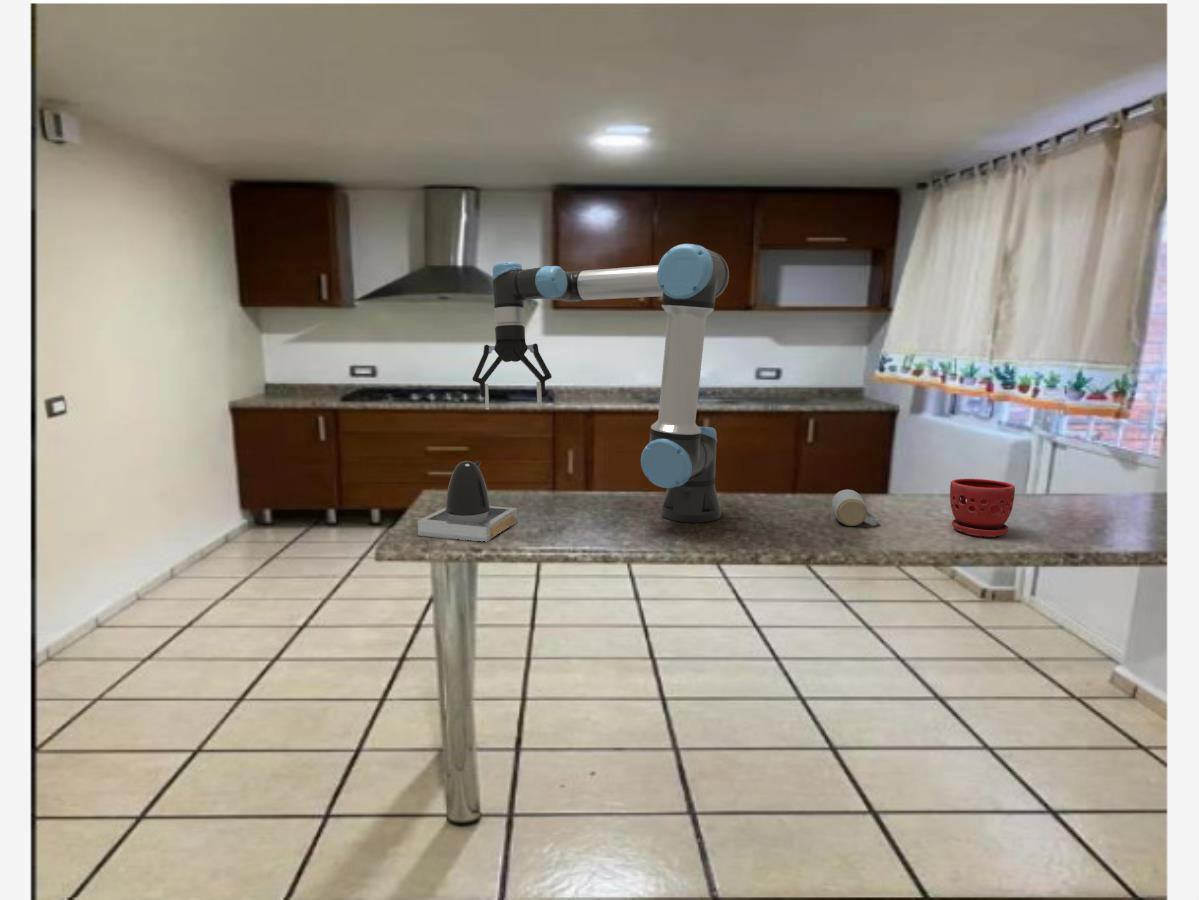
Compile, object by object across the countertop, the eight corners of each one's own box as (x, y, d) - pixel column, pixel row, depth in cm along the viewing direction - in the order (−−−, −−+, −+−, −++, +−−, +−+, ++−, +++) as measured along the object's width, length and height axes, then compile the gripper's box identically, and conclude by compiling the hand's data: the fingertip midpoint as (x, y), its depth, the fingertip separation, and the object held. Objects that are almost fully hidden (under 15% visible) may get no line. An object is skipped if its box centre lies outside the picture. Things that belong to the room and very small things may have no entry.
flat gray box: (518, 522, 162) (518, 508, 162) (488, 542, 146) (487, 527, 145) (453, 516, 167) (452, 502, 166) (416, 535, 151) (416, 520, 150)
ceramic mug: (835, 526, 160) (838, 495, 159) (830, 517, 168) (832, 488, 167) (881, 530, 159) (884, 498, 157) (874, 520, 166) (877, 490, 165)
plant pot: (1016, 532, 157) (1022, 482, 155) (1000, 543, 148) (1006, 491, 146) (956, 521, 166) (961, 474, 164) (938, 531, 157) (943, 481, 155)
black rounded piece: (498, 521, 159) (497, 459, 157) (474, 532, 150) (472, 466, 147) (463, 516, 163) (461, 455, 161) (437, 527, 154) (434, 462, 151)
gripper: (555, 325, 177) (558, 405, 179) (459, 327, 171) (464, 409, 173) (560, 323, 170) (563, 406, 172) (460, 324, 164) (465, 410, 166)
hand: (513, 408), depth 173 cm, fingers open, 13 cm apart
